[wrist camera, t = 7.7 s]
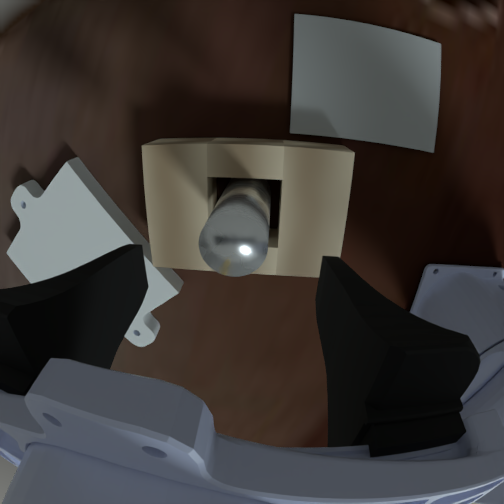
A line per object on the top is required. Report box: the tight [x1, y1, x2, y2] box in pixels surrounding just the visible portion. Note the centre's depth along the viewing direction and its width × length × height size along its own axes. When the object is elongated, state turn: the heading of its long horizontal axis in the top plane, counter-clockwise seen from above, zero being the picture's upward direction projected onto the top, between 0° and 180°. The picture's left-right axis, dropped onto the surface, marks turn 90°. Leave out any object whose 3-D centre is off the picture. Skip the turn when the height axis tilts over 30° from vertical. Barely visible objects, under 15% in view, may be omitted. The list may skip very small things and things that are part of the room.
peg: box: [199, 178, 271, 277], centre depth 17 cm, size 3×3×8 cm
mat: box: [290, 14, 441, 153], centre depth 16 cm, size 10×8×1 cm
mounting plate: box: [7, 157, 184, 347], centre depth 24 cm, size 18×13×2 cm
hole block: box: [142, 138, 355, 277], centre depth 19 cm, size 12×8×3 cm, turn 88°
